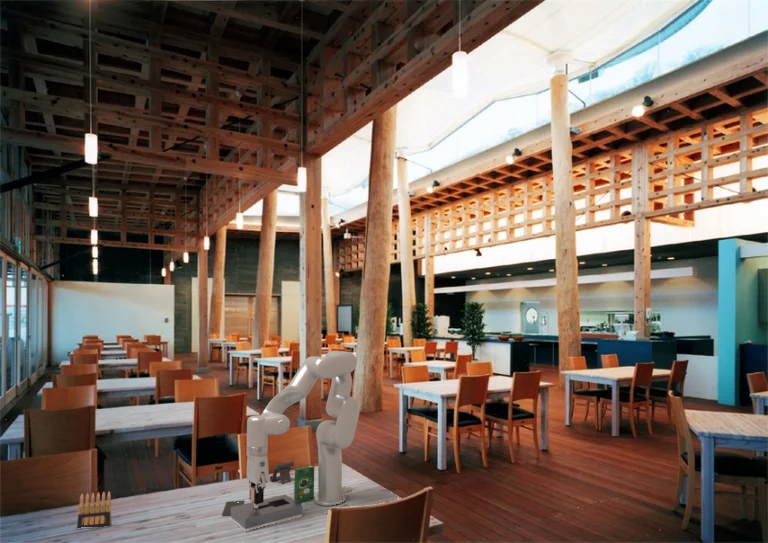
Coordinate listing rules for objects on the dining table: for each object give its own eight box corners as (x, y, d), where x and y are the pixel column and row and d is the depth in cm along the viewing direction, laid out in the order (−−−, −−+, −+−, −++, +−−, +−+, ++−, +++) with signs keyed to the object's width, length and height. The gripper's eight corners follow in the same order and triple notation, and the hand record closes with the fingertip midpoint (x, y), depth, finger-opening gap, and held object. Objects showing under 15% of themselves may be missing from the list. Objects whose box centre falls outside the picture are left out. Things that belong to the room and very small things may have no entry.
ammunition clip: (111, 524, 187) (112, 490, 188) (110, 526, 185) (111, 491, 186) (78, 527, 185) (79, 492, 186) (76, 529, 183) (78, 494, 184)
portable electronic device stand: (287, 477, 240) (287, 458, 241) (295, 481, 234) (295, 462, 235) (269, 481, 235) (269, 462, 235) (278, 485, 229) (278, 466, 229)
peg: (259, 514, 192) (259, 484, 193) (264, 518, 189) (264, 487, 190) (247, 517, 190) (248, 486, 190) (252, 521, 186) (253, 490, 187)
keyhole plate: (285, 506, 204) (285, 494, 204) (301, 516, 192) (301, 504, 193) (230, 519, 190) (230, 507, 191) (245, 532, 179) (245, 518, 180)
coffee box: (310, 497, 213) (311, 464, 215) (314, 498, 211) (314, 465, 212) (293, 501, 208) (293, 468, 210) (297, 503, 206) (297, 469, 207)
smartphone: (226, 503, 208) (221, 517, 193) (226, 501, 208) (221, 515, 194) (245, 502, 209) (241, 516, 195) (245, 500, 210) (241, 513, 195)
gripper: (276, 453, 187) (275, 505, 185) (257, 444, 200) (256, 493, 199) (256, 456, 182) (256, 510, 181) (238, 447, 196) (238, 497, 194)
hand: (256, 500), depth 190 cm, fingers open, 4 cm apart
